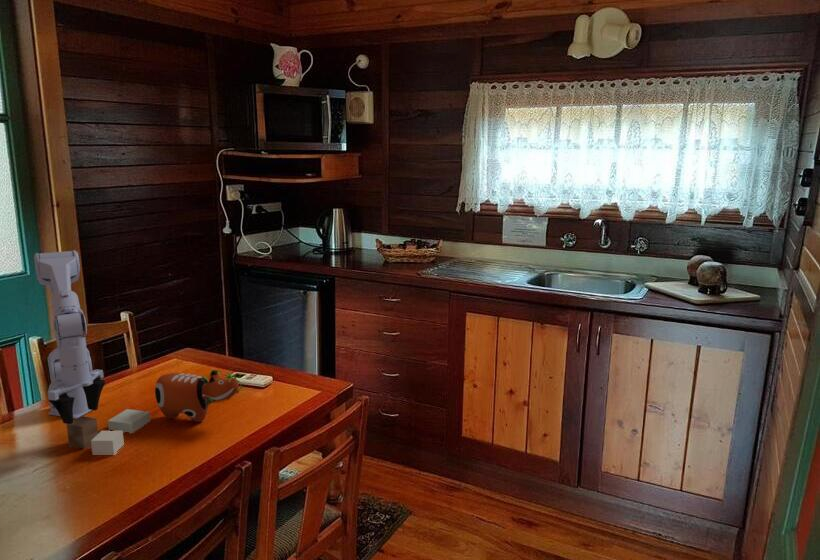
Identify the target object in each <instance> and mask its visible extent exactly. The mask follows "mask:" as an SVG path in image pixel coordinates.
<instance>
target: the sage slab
mask: <svg viewBox="0 0 820 560" xmlns="http://www.w3.org/2000/svg"><path fill="white" fill-rule="evenodd" d="M150 421H151V412H150V411H145V410H136V409H128V408H126V409H125V410H123V411H122V412H119V413H118V414H117V415H115V416H114V417H111V418H110V419H108V420H107V424H108V426H107V427H108V431H110V430H114V431H123V433H125V432H129V433H128V434H132V433H133V432H134V433H135V431H136V430H137V431H139V430H140V429H142V428H143V427H145V426H146V425H148V424H149V423H150ZM148 422H149V423H148ZM151 422H152V421H151ZM147 423H148V424H147ZM145 424H146V425H145ZM144 425H145V426H144ZM142 426H143V427H142ZM141 427H142V428H141ZM139 428H140V429H139ZM138 429H139V430H138ZM137 431H136V432H137ZM134 433H133V434H134Z"/></svg>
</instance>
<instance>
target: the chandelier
mask: <svg viewBox="0 0 820 560" xmlns="http://www.w3.org/2000/svg"><path fill="white" fill-rule="evenodd" d="M213 370H214V371H216V372H217V373H218V374H219V375H220V372H219V371H218V370H215V369H213ZM211 372H212V370H211V371H209V374H210V375H211ZM201 377H204V378H206V379H207V381H208V382H209V380H208V378H207V376H205V375H201ZM225 378H235V379H236V380H237V381H238V384H239V385H240V387H239V388H238V391H237V392H236V393H238V392H239V393H240V391H241V388H242V383H241V381H239V380H238V379H237V376H236V375H234V374H231V373H230V374H227V375H226V376H225ZM231 398H232V397H230V398H228V399H231ZM228 399H227V400H228ZM209 402H210V403H213V402H214V400H213V399H211V398H209Z"/></svg>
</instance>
